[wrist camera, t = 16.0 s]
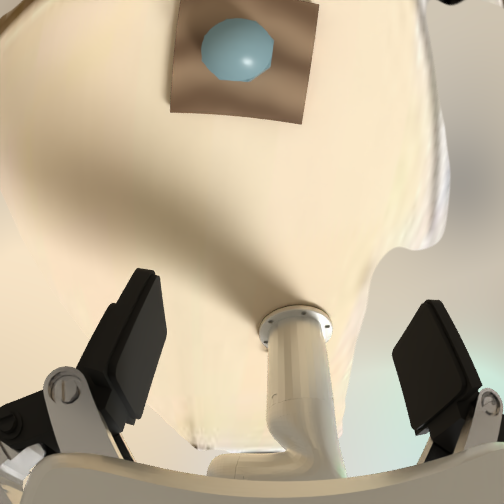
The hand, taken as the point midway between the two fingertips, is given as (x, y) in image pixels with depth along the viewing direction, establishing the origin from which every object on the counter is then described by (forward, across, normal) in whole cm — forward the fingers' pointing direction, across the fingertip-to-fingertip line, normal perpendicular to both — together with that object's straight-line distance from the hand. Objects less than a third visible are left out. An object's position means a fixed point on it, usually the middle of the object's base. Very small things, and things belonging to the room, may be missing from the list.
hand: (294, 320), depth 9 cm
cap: (+24, +5, -10) cm, 26 cm away
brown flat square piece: (+25, +5, -10) cm, 28 cm away
